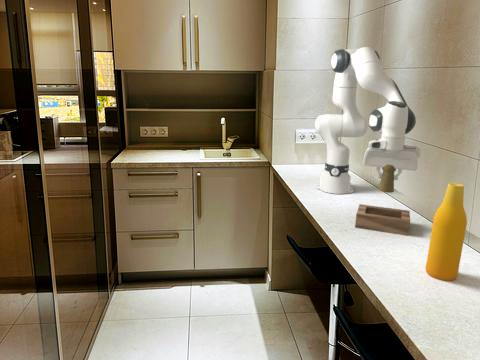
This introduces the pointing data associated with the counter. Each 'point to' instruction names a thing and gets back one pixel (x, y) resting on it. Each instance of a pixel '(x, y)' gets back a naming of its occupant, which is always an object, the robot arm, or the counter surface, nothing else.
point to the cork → (387, 179)
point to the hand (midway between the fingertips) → (387, 178)
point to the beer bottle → (447, 235)
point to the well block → (383, 219)
